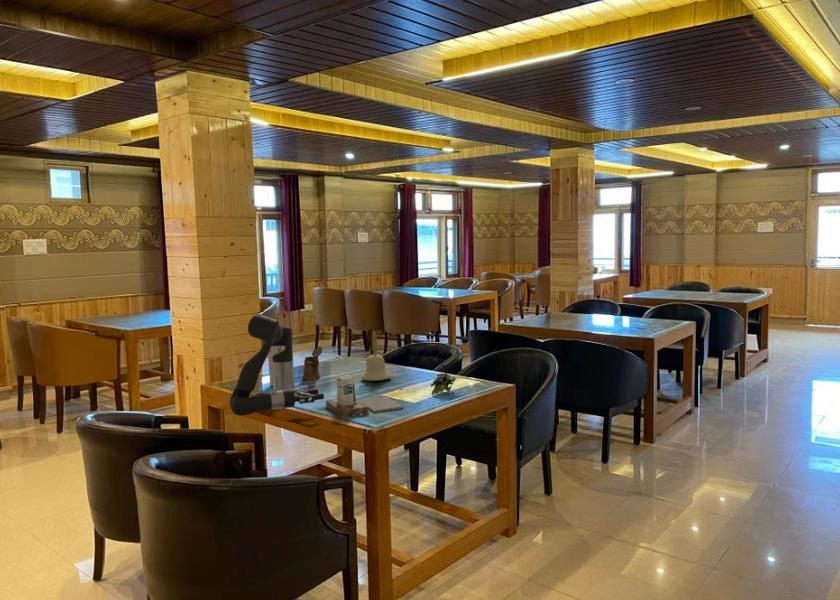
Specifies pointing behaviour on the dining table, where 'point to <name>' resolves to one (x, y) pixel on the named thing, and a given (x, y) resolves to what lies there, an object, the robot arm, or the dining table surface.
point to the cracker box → (272, 351)
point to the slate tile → (381, 404)
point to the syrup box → (346, 390)
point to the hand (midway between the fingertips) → (320, 393)
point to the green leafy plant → (442, 383)
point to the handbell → (375, 364)
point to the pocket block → (347, 408)
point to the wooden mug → (312, 365)
